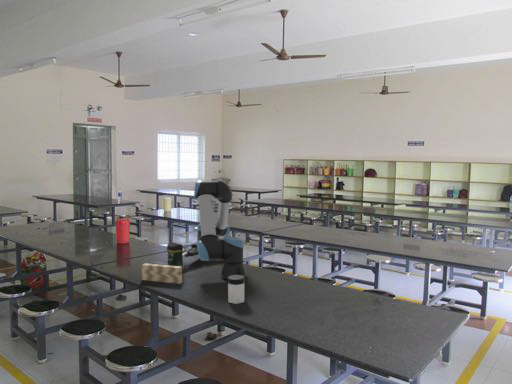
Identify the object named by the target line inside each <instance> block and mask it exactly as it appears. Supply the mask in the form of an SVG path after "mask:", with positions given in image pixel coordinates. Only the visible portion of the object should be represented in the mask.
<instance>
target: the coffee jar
mask: <svg viewBox="0 0 512 384" xmlns="http://www.w3.org/2000/svg"><path fill="white" fill-rule="evenodd" d="M183 247H184V246H183V244H181V243H176V242H169V243H167V245H166V252H167V265H169V266H180V267H182V274H183V273H184V262H183V261H184V260H183V258H182V252H183V250H184V248H183Z"/></svg>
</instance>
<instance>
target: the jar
mask: <svg viewBox="0 0 512 384" xmlns="http://www.w3.org/2000/svg"><path fill="white" fill-rule="evenodd" d="M245 278H246V277H244V276H242V275H231V276H229V277H228V280H227V282H228V283H227V296H228V299H227V301H228V303H231V304H233V305H234V304H235V305H238V304H242V303H245V281H246V280H245Z"/></svg>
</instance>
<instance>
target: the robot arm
mask: <svg viewBox="0 0 512 384" xmlns="http://www.w3.org/2000/svg"><path fill="white" fill-rule="evenodd" d="M193 199H194V200H195V201H196V202H197V204H198V205H199V206H198V207H199V220H200V221H199V222H200V223H198V225H197V241H196V242H195V243H194V244H192V245H191V246H190V247H188V249H187V248H183V252H182V258H183V259H185V258H188V257H191V258H192V257H196V256H198V258H199V259H200V261H203V262H205V261H206V262H208V261H210V262H211V261H223V265H222V268H221V271H220V278H221V279H223V280H225V281H228V277H229V276H231V275H242V276H244V277H245V278H247V271H246V267H245V265H244V241H243V239H241V238H239V237H236V236H230V232H231V231H230V228H231V227H230V225H228V223H229V222H228V221H229V220H228V219H229V213H230V206H231V205H230V203H231V202H232V200H233V192H232V189H231V187H230V185H228V184H227V182H225V181H222V180H219V179H218V180H196V181H195V184H194V194H193ZM216 199H217V201H218V204H217V215H216V221H215V210H214V203H215V201H216ZM220 237H223V238H222V239H219V238H220Z"/></svg>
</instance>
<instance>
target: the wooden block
mask: <svg viewBox="0 0 512 384" xmlns="http://www.w3.org/2000/svg"><path fill="white" fill-rule="evenodd" d="M141 280H142V281H147V282H149V281H150V282H158V283H159V282H160V283H167V284H179V285H181V284H182V283H183V273H182V267H180V266H169V265H168V264H155V263H145V262H144V263H142V264H141Z"/></svg>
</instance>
